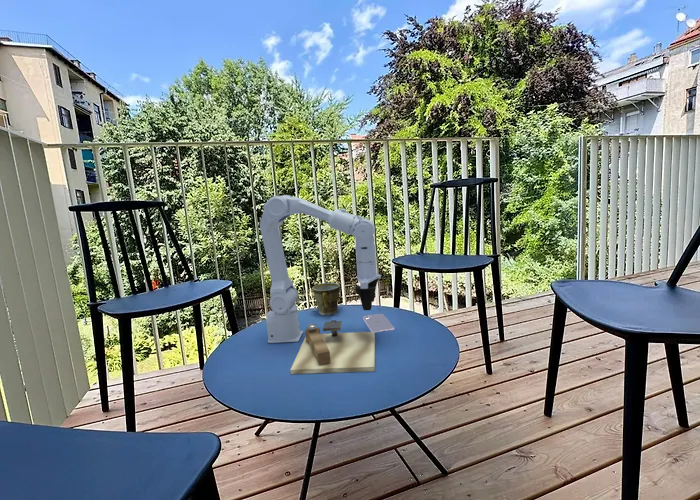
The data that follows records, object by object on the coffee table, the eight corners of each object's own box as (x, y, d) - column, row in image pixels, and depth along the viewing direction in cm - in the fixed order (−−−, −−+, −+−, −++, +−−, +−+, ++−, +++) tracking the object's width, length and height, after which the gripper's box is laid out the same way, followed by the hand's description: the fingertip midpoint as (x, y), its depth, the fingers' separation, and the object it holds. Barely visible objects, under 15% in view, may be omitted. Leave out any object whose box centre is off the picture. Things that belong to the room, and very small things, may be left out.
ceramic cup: (316, 308, 141) (314, 283, 140) (342, 307, 141) (340, 281, 139) (312, 321, 129) (309, 293, 127) (340, 319, 128) (338, 291, 126)
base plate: (290, 374, 93) (290, 369, 93) (306, 338, 115) (306, 334, 114) (374, 371, 91) (374, 366, 91) (374, 335, 113) (374, 331, 113)
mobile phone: (372, 331, 115) (361, 315, 129) (372, 334, 115) (361, 318, 129) (395, 327, 116) (382, 312, 130) (395, 330, 116) (382, 315, 131)
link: (304, 338, 111) (303, 328, 110) (319, 335, 112) (318, 326, 111) (316, 365, 93) (315, 354, 93) (333, 361, 94) (332, 350, 94)
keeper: (307, 343, 107) (306, 328, 106) (311, 335, 113) (310, 320, 113) (341, 342, 107) (340, 326, 106) (343, 333, 113) (342, 318, 112)
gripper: (377, 266, 100) (380, 313, 102) (382, 255, 114) (384, 297, 116) (351, 266, 101) (354, 314, 104) (359, 256, 115) (362, 298, 118)
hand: (368, 305), depth 110 cm, fingers open, 7 cm apart
